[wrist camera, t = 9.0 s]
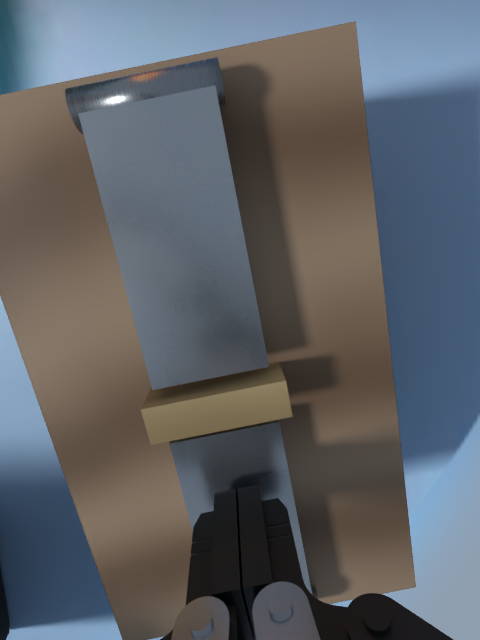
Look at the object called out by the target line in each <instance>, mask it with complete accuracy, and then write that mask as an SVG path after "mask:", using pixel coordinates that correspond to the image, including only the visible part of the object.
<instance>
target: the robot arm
mask: <svg viewBox="0 0 480 640" xmlns="http://www.w3.org/2000/svg"><path fill="white" fill-rule="evenodd" d="M160 640H453V639H452V638H450V637H449V636H447V635H445V634H444V633H443V632H441V631H439V630H438V629H436V628H435V627H433V626H432V625H430V624H429V623H427V622H426V621H424V620H423V619H421V618H420V617H418V616H417V615H415V614H414V613H412V612H411V611H409V610H408V609H406V608H405V607H403V606H402V605H400V604H399V603H397V602H396V601H394V600H393V599H391V598H389V597H387V596H385V595H382V594H378V593H367V594H363V595H360V596H358V597H357V598H355V599H354V600H353V601H352V602H351V603H350V605H349V606H348V607H342V606H334V605H330V604H327V603H324V602H322V601H320V600H318V599H317V598H315V597H314V596H313V595H312V594H311V593H310V592H309V591H308V589H307V588H306V586H305V584H304V580H303V577H302V572H301V568H300V563H299V559H298V555H297V550H296V546H295V541H294V537H293V532H292V528H291V524H290V519H289V515H288V510H287V508H286V506H285V505H284V504H283V503H282V502H281V501H280V500H279V498H275V499H270V500H265V501H263V499H262V494H261V489H260V485H259V484H258V485H253V486H248V487H243V488H238V492H237V489H233V490H228V491H224V492H219V493H215V494H214V511H210V512H205V513H201V514H200V516H199V518H198V520H197V521H196V523H195V525H194V527H193V535H192V545H191V557H190V566H189V576H188V586H187V596H186V605H185V607H184V608H183V609H182V611H181V612H180V613H179V615H178V616H177V618H176V621H175V624H174V627H173V630H172V631H171V632H170V633H169V634H167V635H166V636H165V637H164V638H162V639H160Z"/></svg>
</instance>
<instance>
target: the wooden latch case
mask: <svg viewBox="0 0 480 640" xmlns="http://www.w3.org/2000/svg"><path fill="white" fill-rule="evenodd" d="M215 57H218V60H219V65H220V70H221V75H222V81H223V87H224V93H225V102H226V105H222V106H219V107H220V112H221V117H222V123H223V128H224V133H225V138H226V144H227V149H228V154H229V159H230V164H231V170H232V175H233V180H234V185H235V191H236V196H237V201H238V206H239V212H240V217H241V222H242V227H243V232H244V238H245V243H246V248H247V253H248V259H249V264H250V269H251V274H252V280H253V285H254V290H255V295H256V300H257V306H258V311H259V316H260V321H261V327H262V332H263V337H264V342H265V348H266V353H267V358H268V363H269V367H265V368H260V369H255V370H250V371H245V372H240V373H235V374H230V375H225V376H220V377H215V378H210V379H205V380H200V381H195V382H190V383H185V384H180V385H176V386H171V387H166V388H161V389H156V390H152V387H151V383H150V379H149V376H148V372H147V368H146V364H145V361H144V357H143V353H142V350H141V346H140V342H139V338H138V335H137V331H136V327H135V323H134V320H133V316H132V312H131V309H130V305H129V301H128V297H127V294H126V290H125V286H124V283H123V279H122V275H121V271H120V268H119V264H118V260H117V256H116V253H115V249H114V245H113V242H112V238H111V234H110V230H109V227H108V223H107V219H106V216H105V212H104V208H103V204H102V201H101V197H100V193H99V189H98V186H97V182H96V178H95V175H94V171H93V167H92V163H91V160H90V156H89V152H88V149H87V145H86V141H85V137H84V134H81V133H80V132H79V131H78V129H77V128H76V126H75V124H74V122H73V120H72V118H71V115H70V112H69V110H68V106H67V103H66V98H65V89H66V88H70V87H75V86H80V85H84V84H89V83H94V82H99V81H104V80H109V79H113V78H118V77H123V76H128V75H133V74H138V73H142V72H147V71H152V70H157V69H162V68H166V67H171V66H176V65H181V64H186V63H191V62H195V61H200V60H205V59H210V58H215ZM0 296H1V299H2V302H3V304H4V307H5V310H6V313H7V316H8V319H9V321H10V324H11V327H12V330H13V333H14V335H15V338H16V341H17V344H18V347H19V349H20V352H21V355H22V358H23V361H24V364H25V366H26V369H27V372H28V375H29V378H30V380H31V383H32V386H33V389H34V392H35V394H36V397H37V400H38V403H39V406H40V409H41V411H42V414H43V417H44V420H45V423H46V425H47V428H48V431H49V434H50V437H51V439H52V442H53V445H54V448H55V451H56V453H57V456H58V459H59V462H60V465H61V468H62V470H63V473H64V476H65V479H66V482H67V484H68V487H69V490H70V493H71V496H72V498H73V501H74V504H75V507H76V510H77V513H78V515H79V518H80V521H81V524H82V527H83V529H84V532H85V535H86V538H87V541H88V543H89V546H90V549H91V552H92V555H93V557H94V560H95V563H96V566H97V569H98V572H99V574H100V577H101V580H102V583H103V586H104V588H105V591H106V594H107V597H108V600H109V602H110V605H111V608H112V611H113V614H114V617H115V619H116V622H117V625H118V628H119V631H120V633H121V636H122V639H123V640H148V639H153V638H158V637H163V636H166V635H167V634H169V633H170V632H171V631H172V630H173V627H174V624H175V621H176V618H177V616H178V615H179V613H180V612H181V611H182V609H183V608H184V607H185V605H186V596H187V586H188V576H189V566H190V557H191V545H192V535H193V531H192V527H191V523H190V519H189V516H188V512H187V508H186V504H185V501H184V497H183V493H182V490H181V486H180V482H179V478H178V475H177V471H176V467H175V464H174V460H173V456H172V452H171V449H170V445H169V443H170V441H173V440H178V439H183V438H188V437H193V436H198V435H203V434H208V433H213V432H219V431H224V430H229V429H234V428H239V427H244V426H249V425H254V424H259V423H264V422H269V421H274V420H279V423H280V428H281V433H282V438H283V444H284V449H285V454H286V459H287V465H288V470H289V475H290V480H291V486H292V491H293V496H294V501H295V507H296V512H297V517H298V522H299V527H300V533H301V538H302V543H303V548H304V554H305V559H306V564H307V569H308V575H309V580H310V585H311V586H312V585H315V587H316V591H317V595H318V600H320V601H322V602H324V603H327V604H332V603H337V602H342V601H347V600H352V599H355V598H357V597H358V596H360V595H363V594H367V593H378V594H384V593H389V592H393V591H399V590H404V589H409V588H414V587H416V584H415V574H414V565H413V556H412V546H411V537H410V527H409V518H408V508H407V499H406V490H405V480H404V471H403V461H402V452H401V443H400V433H399V424H398V414H397V405H396V396H395V386H394V377H393V368H392V358H391V349H390V339H389V330H388V321H387V311H386V302H385V292H384V283H383V274H382V264H381V255H380V245H379V236H378V227H377V217H376V208H375V199H374V189H373V180H372V170H371V161H370V152H369V142H368V133H367V123H366V114H365V105H364V95H363V86H362V77H361V67H360V58H359V48H358V39H357V30H356V21H355V22H350V23H345V24H340V25H335V26H331V27H326V28H321V29H316V30H311V31H306V32H302V33H297V34H292V35H287V36H282V37H278V38H273V39H268V40H263V41H258V42H253V43H249V44H244V45H239V46H234V47H229V48H224V49H220V50H215V51H210V52H205V53H200V54H196V55H191V56H186V57H181V58H176V59H171V60H167V61H162V62H157V63H152V64H147V65H143V66H138V67H133V68H128V69H123V70H118V71H114V72H109V73H104V74H99V75H94V76H89V77H85V78H80V79H75V80H70V81H65V82H61V83H56V84H51V85H46V86H41V87H36V88H32V89H27V90H22V91H17V92H12V93H8V94H3V95H0Z"/></svg>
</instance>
